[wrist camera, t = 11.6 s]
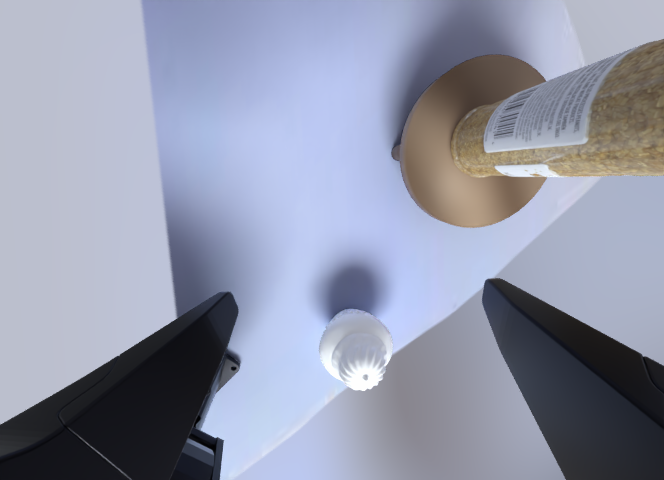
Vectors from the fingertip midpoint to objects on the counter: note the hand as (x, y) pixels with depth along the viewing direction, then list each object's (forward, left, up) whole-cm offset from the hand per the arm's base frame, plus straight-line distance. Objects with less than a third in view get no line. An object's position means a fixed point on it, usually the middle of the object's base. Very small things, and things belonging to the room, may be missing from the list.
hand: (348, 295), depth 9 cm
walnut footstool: (+12, -4, -13) cm, 18 cm away
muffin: (-5, -9, -13) cm, 16 cm away
